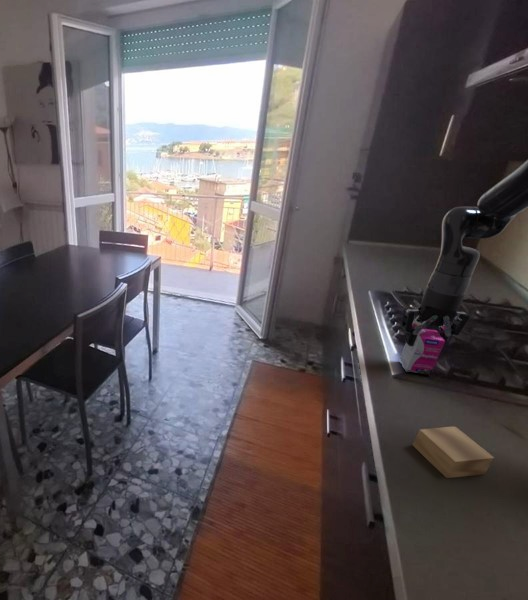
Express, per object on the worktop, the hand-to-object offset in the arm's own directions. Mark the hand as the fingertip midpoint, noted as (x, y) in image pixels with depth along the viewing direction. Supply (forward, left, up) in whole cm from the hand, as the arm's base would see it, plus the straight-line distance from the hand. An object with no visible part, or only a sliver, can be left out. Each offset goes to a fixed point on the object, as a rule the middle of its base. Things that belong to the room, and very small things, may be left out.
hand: (423, 345), depth 95 cm
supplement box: (0, 0, -8) cm, 8 cm away
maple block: (+10, +32, -8) cm, 34 cm away
